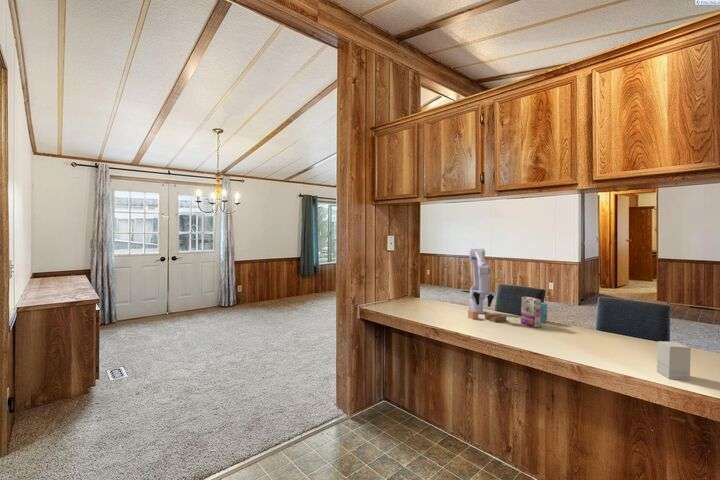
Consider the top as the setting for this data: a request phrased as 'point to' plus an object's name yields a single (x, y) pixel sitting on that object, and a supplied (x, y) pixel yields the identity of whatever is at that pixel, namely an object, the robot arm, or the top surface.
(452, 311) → the top surface
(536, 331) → the top surface
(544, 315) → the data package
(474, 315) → the terracotta block
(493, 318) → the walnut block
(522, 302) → the candy bar box
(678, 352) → the supplement box
